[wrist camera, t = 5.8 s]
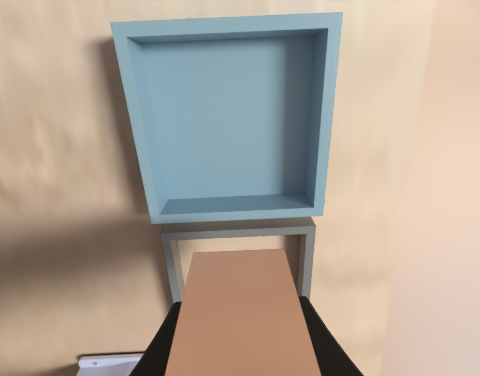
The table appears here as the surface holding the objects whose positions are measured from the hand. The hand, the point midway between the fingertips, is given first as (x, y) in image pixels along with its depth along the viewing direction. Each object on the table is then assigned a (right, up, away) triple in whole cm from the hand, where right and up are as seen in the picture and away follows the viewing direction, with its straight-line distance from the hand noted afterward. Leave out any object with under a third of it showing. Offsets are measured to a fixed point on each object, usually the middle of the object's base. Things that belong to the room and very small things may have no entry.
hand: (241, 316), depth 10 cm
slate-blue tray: (0, +9, +6) cm, 11 cm away
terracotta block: (0, +1, +2) cm, 2 cm away
